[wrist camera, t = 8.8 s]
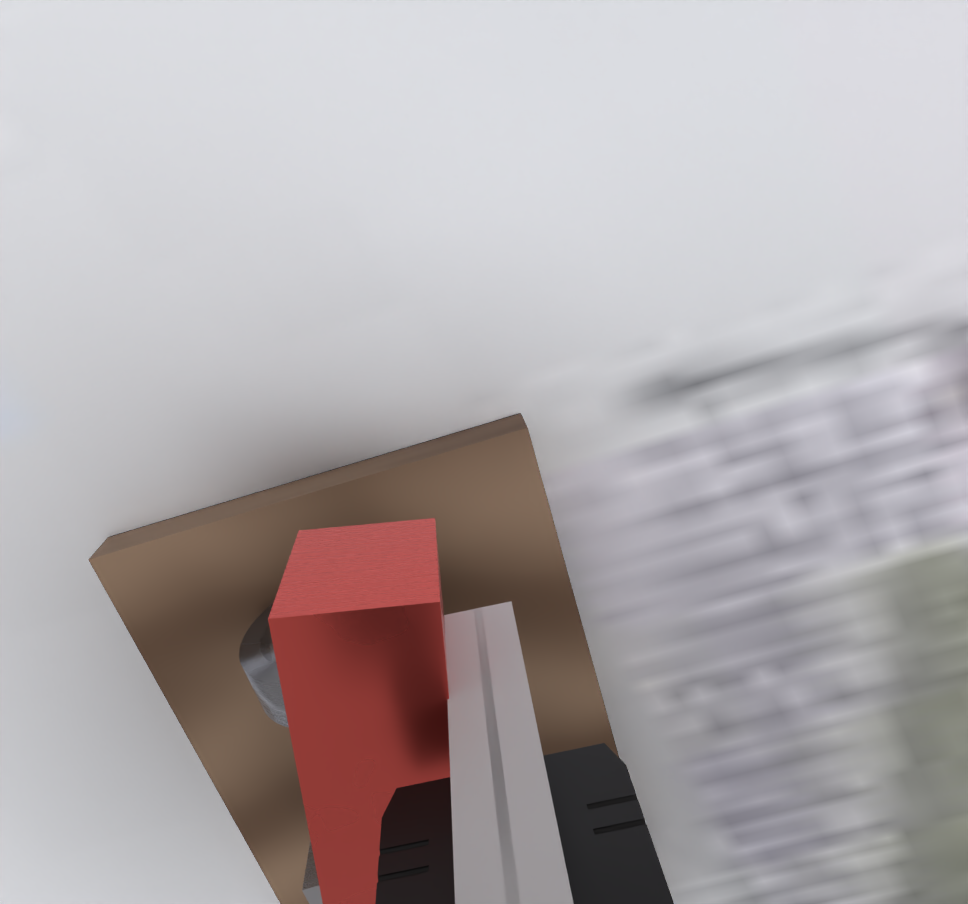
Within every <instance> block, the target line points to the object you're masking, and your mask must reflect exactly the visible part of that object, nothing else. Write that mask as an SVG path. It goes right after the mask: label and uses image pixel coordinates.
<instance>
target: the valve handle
mask: <svg viewBox="0 0 968 904" xmlns="http://www.w3.org/2000/svg"><path fill="white" fill-rule="evenodd" d="M268 622H269V627H270V632H271V638H272V643H273V648H274V653H275V658H276V663H277V669H278V674H279V679H280V684H281V689H282V695H283V700H284V705H285V710H286V715H287V721H288V726H289V731H290V736H291V741H292V747H293V752H294V757H295V762H296V767H297V773H298V778H299V783H300V788H301V793H302V799H303V804H304V809H305V814H306V819H307V825H308V830H309V835H310V840H311V845H312V851H313V856H314V861H315V866H316V871H317V877H318V882H319V887H320V892H321V897H322V903H323V904H375V902H376V888H377V883H378V876H377V875H378V861H379V856H380V850H379V848H380V834H381V821H382V816H383V814H384V812H385V810H386V808H387V806H388V804H389V802H390V800H391V798H392V796H393V794H394V792H395V790H396V788H399V787H404V786H409V785H414V784H419V783H423V782H428V781H433V780H438V779H443V778H448V777H450V755H449V729H448V702H447V699H449V689H448V674H447V659H446V644H445V622H444V610H443V599H442V588H441V577H440V566H439V555H438V544H437V533H436V522H435V518H429V519H418V520H407V521H396V522H385V523H375V524H364V525H353V526H342V527H331V528H320V529H310V530H299V531H298V534H297V537H296V540H295V543H294V545H293V548H292V551H291V554H290V557H289V560H288V563H287V566H286V568H285V571H284V574H283V577H282V580H281V583H280V586H279V589H278V592H277V594H276V597H275V600H274V603H273V606H272V609H271V612H270V615H269V617H268Z"/></svg>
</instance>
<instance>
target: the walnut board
mask: <svg viewBox="0 0 968 904" xmlns="http://www.w3.org/2000/svg"><path fill="white" fill-rule="evenodd" d="M429 518H435V522H436V533H437V544H438V555H439V566H440V577H441V588H442V599H443V610H444V615H447V614H452V613H457V612H462V611H467V610H472V609H476V608H481V607H486V606H491V605H496V604H500V603H505V602H510V601H512V606H513V611H514V616H515V621H516V626H517V631H518V636H519V640H520V645H521V650H522V655H523V660H524V665H525V670H526V674H527V679H528V684H529V689H530V694H531V699H532V704H533V709H534V713H535V718H536V723H537V728H538V733H539V738H540V743H541V748H542V752H543V755H548V754H553V753H558V752H563V751H568V750H572V749H577V748H582V747H587V746H592V745H597V744H601V743H605V744H606V745H607V746H608V747H609V748H610V749H611V750H612V751H613V752H614V753H615V754H616V755H617V756H618V752H617V749H616V745H615V741H614V738H613V734H612V731H611V727H610V723H609V720H608V716H607V713H606V709H605V705H604V702H603V698H602V695H601V691H600V687H599V684H598V680H597V677H596V673H595V669H594V666H593V662H592V659H591V655H590V651H589V648H588V644H587V641H586V637H585V633H584V630H583V626H582V623H581V619H580V615H579V612H578V608H577V604H576V601H575V597H574V594H573V590H572V586H571V583H570V579H569V576H568V572H567V568H566V565H565V561H564V558H563V554H562V550H561V547H560V543H559V540H558V536H557V532H556V529H555V525H554V522H553V518H552V514H551V511H550V507H549V504H548V500H547V496H546V493H545V489H544V486H543V482H542V478H541V475H540V471H539V467H538V464H537V460H536V457H535V453H534V449H533V446H532V442H531V439H530V435H529V431H528V428H527V426H526V424H525V422H524V419H523V417H522V415H521V413H520V414H517V415H514V416H510V417H507V418H504V419H500V420H497V421H494V422H490V423H487V424H484V425H480V426H477V427H474V428H470V429H467V430H464V431H460V432H457V433H454V434H450V435H447V436H444V437H440V438H437V439H434V440H430V441H427V442H424V443H420V444H417V445H414V446H410V447H407V448H404V449H400V450H397V451H394V452H390V453H387V454H384V455H380V456H377V457H374V458H371V459H367V460H364V461H361V462H357V463H354V464H351V465H347V466H344V467H341V468H337V469H334V470H331V471H327V472H324V473H321V474H317V475H314V476H311V477H307V478H304V479H301V480H297V481H294V482H291V483H287V484H284V485H281V486H277V487H274V488H271V489H267V490H264V491H261V492H257V493H254V494H251V495H247V496H244V497H241V498H237V499H234V500H231V501H228V502H224V503H221V504H218V505H214V506H211V507H208V508H204V509H201V510H198V511H194V512H191V513H188V514H184V515H181V516H178V517H174V518H171V519H168V520H164V521H161V522H158V523H154V524H151V525H148V526H144V527H141V528H138V529H134V530H131V531H128V532H124V533H121V534H118V535H114V536H111V537H108V538H107V539H106V541H105V542H104V543H103V544H102V545H101V546H100V547H99V548H98V549H97V551H96V552H95V553H94V554H93V555H92V556H91V557H90V558H89V561H90V563H91V565H92V567H93V569H94V570H95V572H96V574H97V576H98V578H99V579H100V581H101V583H102V585H103V587H104V588H105V590H106V592H107V594H108V595H109V597H110V599H111V601H112V603H113V604H114V606H115V608H116V610H117V612H118V613H119V615H120V617H121V619H122V621H123V622H124V624H125V626H126V628H127V629H128V631H129V633H130V635H131V637H132V638H133V640H134V642H135V644H136V646H137V647H138V649H139V651H140V653H141V655H142V656H143V658H144V660H145V662H146V663H147V665H148V667H149V669H150V671H151V672H152V674H153V676H154V678H155V680H156V681H157V683H158V685H159V687H160V689H161V690H162V692H163V694H164V696H165V697H166V699H167V701H168V703H169V705H170V706H171V708H172V710H173V712H174V714H175V715H176V717H177V719H178V721H179V723H180V724H181V726H182V728H183V730H184V732H185V733H186V735H187V737H188V739H189V740H190V742H191V744H192V746H193V748H194V749H195V751H196V753H197V755H198V757H199V758H200V760H201V762H202V764H203V766H204V767H205V769H206V771H207V773H208V774H209V776H210V778H211V780H212V782H213V783H214V785H215V787H216V789H217V791H218V792H219V794H220V796H221V798H222V800H223V801H224V803H225V805H226V807H227V808H228V810H229V812H230V814H231V816H232V817H233V819H234V821H235V823H236V825H237V826H238V828H239V830H240V832H241V834H242V835H243V837H244V839H245V841H246V842H247V844H248V846H249V848H250V850H251V851H252V853H253V855H254V857H255V859H256V860H257V862H258V864H259V866H260V868H261V869H262V871H263V873H264V875H265V876H266V878H267V880H268V882H269V884H270V885H271V887H272V889H273V891H274V893H275V894H276V896H277V898H278V900H279V902H280V903H281V904H309V902H308V900H307V899H306V897H305V895H304V893H303V891H302V888H303V882H304V876H305V870H306V864H307V857H308V851H309V845H310V835H309V830H308V825H307V819H306V814H305V809H304V804H303V799H302V793H301V788H300V783H299V778H298V773H297V767H296V762H295V757H294V752H293V747H292V741H291V736H290V731H289V727H285V726H282V725H280V724H278V723H276V722H274V721H273V720H271V719H270V718H269V717H268V716H267V714H266V713H265V711H264V709H263V707H262V705H261V703H260V701H259V699H258V697H257V695H256V693H255V691H254V689H253V687H252V685H251V683H250V681H249V679H248V677H247V675H246V673H245V671H244V669H243V667H242V665H241V663H240V659H239V649H240V645H241V642H242V640H243V638H244V636H245V634H246V632H247V631H248V629H249V628H250V626H251V625H252V624H253V622H254V621H255V620H256V619H257V618H258V617H259V616H260V615H261V614H262V613H263V612H264V611H265V610H266V609H267V608H268V607H269V606H270V605H271V604H273V603H274V600H275V597H276V594H277V592H278V589H279V586H280V583H281V580H282V577H283V574H284V571H285V568H286V566H287V563H288V560H289V557H290V554H291V551H292V548H293V545H294V543H295V540H296V537H297V534H298V531H299V530H310V529H320V528H331V527H342V526H353V525H364V524H375V523H385V522H396V521H407V520H418V519H429ZM618 757H619V756H618Z"/></svg>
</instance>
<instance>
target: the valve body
mask: <svg viewBox="0 0 968 904" xmlns="http://www.w3.org/2000/svg"><path fill="white" fill-rule="evenodd" d="M272 606H273V604H271V605H270V606H269V607H268V608H267V609H266V610H265V611H264V612H263V613H262V614H261V615H260V616H259V617H258V618H257V619H256V620H255V621H254V622H253V624H252V625H251V626H250V628H249V629H248V631H247V632H246V634H245V636H244V638H243V640H242V642H241V645H240V649H239V659H240V663H241V665H242V667H243V669H244V671H245V673H246V675H247V677H248V679H249V681H250V683H251V685H252V687H253V689H254V691H255V693H256V695H257V697H258V699H259V701H260V703H261V705H262V707H263V709H264V711H265V713H266V714H267V716H268V717H269V718H270V719H271V720H273V721H274V722H276V723H278V724H280V725H282V726H285V727H289V726H288V721H287V715H286V710H285V705H284V700H283V695H282V689H281V684H280V679H279V674H278V669H277V663H276V658H275V653H274V648H273V643H272V638H271V632H270V627H269V622H268V617H269V615H270V612H271V609H272ZM302 891H303V893H304V895H305V897H306V899H307V900H308V902H309V904H323V903H322V897H321V892H320V887H319V882H318V877H317V871H316V866H315V861H314V856H313V851H312V845H311V840H310V845H309V851H308V857H307V864H306V870H305V876H304V882H303V888H302Z"/></svg>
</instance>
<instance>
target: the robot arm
mask: <svg viewBox="0 0 968 904" xmlns="http://www.w3.org/2000/svg"><path fill="white" fill-rule="evenodd" d="M444 622H445V644H446V659H447V674H448V689H449V699H447V702H448V729H449V755H450V777H448V778H443V779H438V780H433V781H428V782H423V783H419V784H414V785H409V786H404V787H399V788H396V790H395V792H394V794H393V796H392V798H391V800H390V802H389V804H388V806H387V808H386V810H385V812H384V814H383V816H382V821H381V834H380V848H379V850H380V856H379V861H378V875H377V876H378V883H377V888H376V902H375V904H674V903H673V900H672V897H671V894H670V891H669V889H668V886H667V883H666V880H665V877H664V874H663V871H662V868H661V865H660V863H659V860H658V857H657V854H656V851H655V848H654V845H653V842H652V839H651V836H650V834H649V831H648V828H647V825H646V824H645V820H644V816H643V813H642V810H641V808H640V805H639V802H638V800H637V797H636V793H635V790H634V787H633V784H632V782H631V779H630V776H629V773H628V770H627V767H626V765H625V764H624V763H623V762H622V761H621V760H620V759H619V757H618V756H617V755H616V754H615V753H614V752H613V751H612V750H611V749H610V748H609V747H608V746H607V745H606V744H605V743H601V744H597V745H592V746H587V747H582V748H577V749H572V750H568V751H563V752H558V753H553V754H548V755H543V752H542V748H541V743H540V738H539V733H538V728H537V723H536V718H535V713H534V709H533V704H532V699H531V694H530V689H529V684H528V679H527V674H526V670H525V665H524V660H523V655H522V650H521V645H520V640H519V636H518V631H517V626H516V621H515V616H514V611H513V606H512V601H510V602H505V603H500V604H496V605H491V606H486V607H481V608H476V609H472V610H467V611H462V612H457V613H452V614H447V615H444Z"/></svg>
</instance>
